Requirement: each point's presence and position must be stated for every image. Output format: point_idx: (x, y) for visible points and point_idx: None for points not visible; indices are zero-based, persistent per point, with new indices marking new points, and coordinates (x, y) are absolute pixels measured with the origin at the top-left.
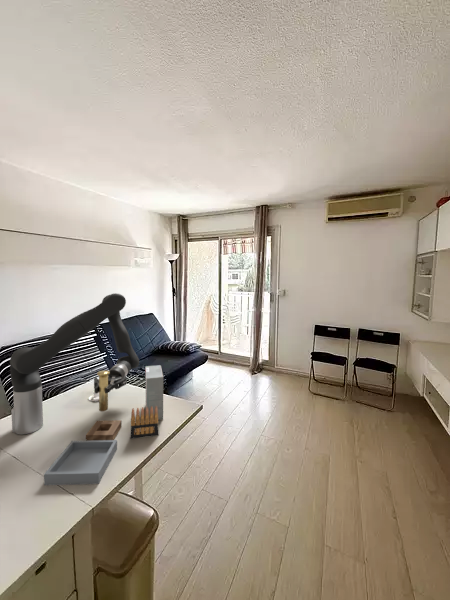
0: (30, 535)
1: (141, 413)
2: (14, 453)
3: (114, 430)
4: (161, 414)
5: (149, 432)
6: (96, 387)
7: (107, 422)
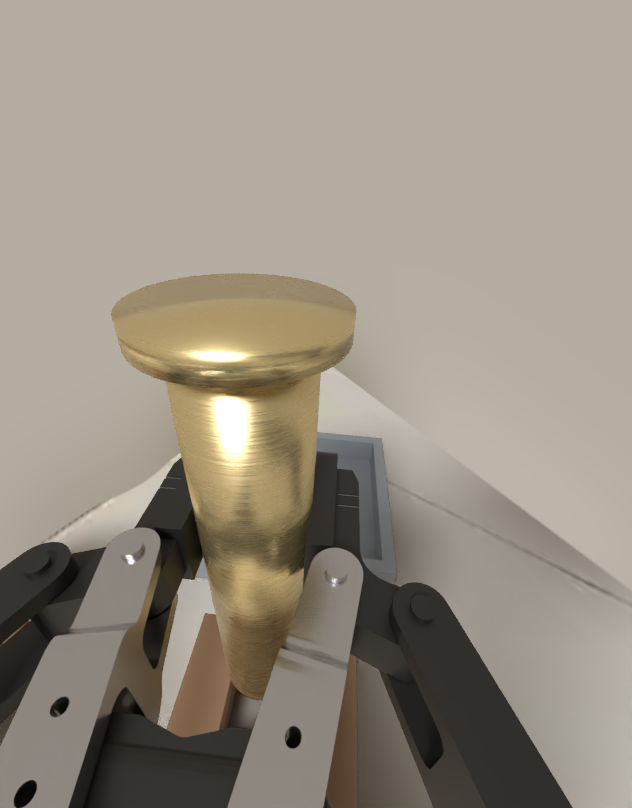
0: (331, 390)
1: None
2: (624, 610)
3: (194, 663)
4: None
5: None
6: (329, 461)
7: None
